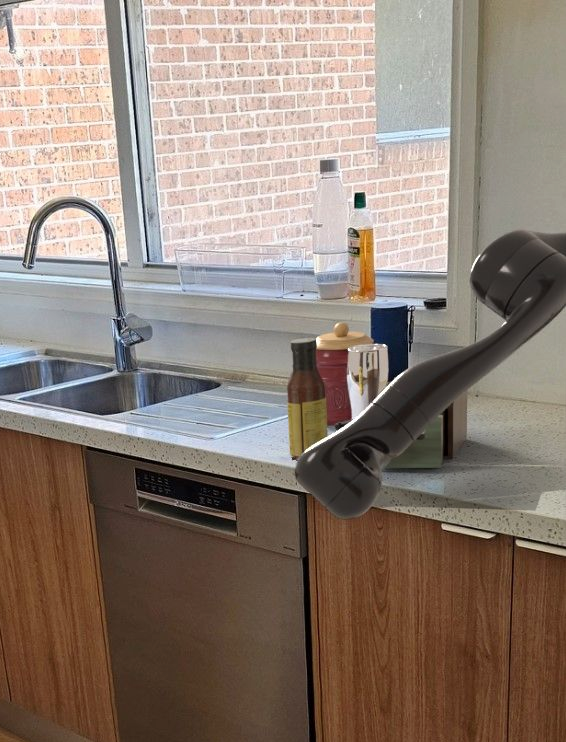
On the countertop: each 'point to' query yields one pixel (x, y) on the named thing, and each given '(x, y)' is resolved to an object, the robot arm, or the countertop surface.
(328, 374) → the kitchen canister
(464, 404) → the cabinet
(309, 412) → the sauce bottle
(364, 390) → the beer glass
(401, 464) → the drawer
